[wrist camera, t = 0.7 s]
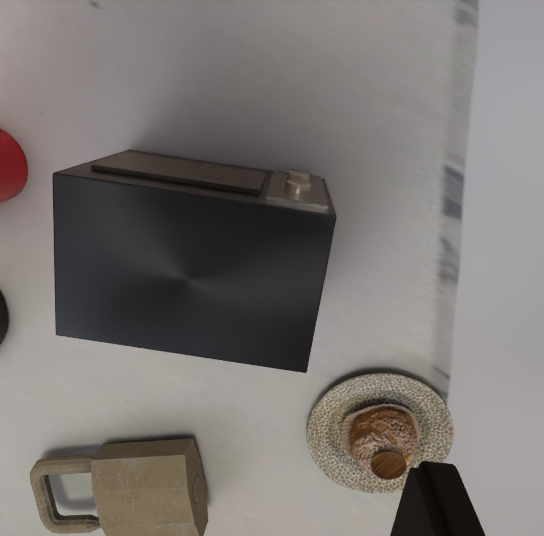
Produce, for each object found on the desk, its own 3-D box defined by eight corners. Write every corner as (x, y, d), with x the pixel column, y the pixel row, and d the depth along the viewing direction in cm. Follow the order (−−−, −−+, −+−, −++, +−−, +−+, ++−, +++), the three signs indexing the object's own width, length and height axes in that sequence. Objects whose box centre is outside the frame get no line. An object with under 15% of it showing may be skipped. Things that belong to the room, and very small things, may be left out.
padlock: (211, 513, 43) (58, 520, 45) (196, 433, 41) (38, 443, 43) (200, 548, 39) (33, 553, 41) (182, 461, 37) (10, 470, 39)
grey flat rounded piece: (446, 481, 42) (463, 525, 37) (310, 484, 43) (311, 528, 38) (452, 363, 38) (472, 397, 33) (301, 370, 39) (302, 404, 34)
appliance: (128, 138, 33) (51, 156, 23) (326, 168, 33) (339, 200, 23) (124, 267, 36) (55, 335, 26) (304, 295, 36) (306, 373, 26)
